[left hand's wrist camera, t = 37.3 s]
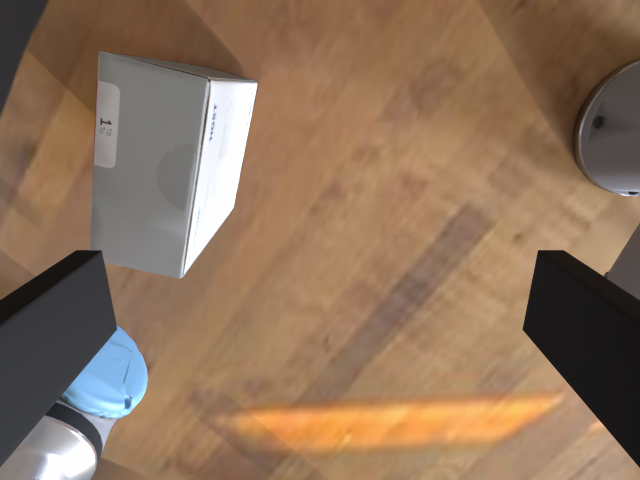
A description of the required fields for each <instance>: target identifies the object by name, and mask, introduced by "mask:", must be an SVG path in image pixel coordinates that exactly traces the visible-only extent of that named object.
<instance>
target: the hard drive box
mask: <svg viewBox="0 0 640 480" xmlns="http://www.w3.org/2000/svg"><path fill="white" fill-rule="evenodd" d="M256 89H257V83H256V82H255V80H253V79H249V78H245V77H242V76H238V75H234V74H230V73H226V72H222V71H218V70H214V69H210V68H206V67H202V66H198V65H192V64H182V63H176V62H170V61H164V60H158V59H151V58H144V57H137V56H130V55H123V54H115V53H107V52H103V51H99V59H98V78H97V94H96V116H95V136H94V157H93V165H94V167H93V185H92V199H91V222H90V240H89V250H102V254H103V259H104V262H106V263H111V264H115V265H119V266H124V267H128V268H133V269H137V270H142V271H147V272H151V273H156V274H161V275H165V276H170V277H175V278H179V279H180V278H182V277H183V276H184V275H185V273H186V272H187V271H188V269H189V268H190V266H191V265H192V264H193V262H194V261H195V260H196V258H197V257H198V256H199V254H200V253H201V252H202V250H203V249H204V248H205V246H206V245H207V243H208V242H209V241H210V239H211V238H212V237H213V235H214V234H215V233H216V231H217V230H218V229H219V227H220V226H221V224H222V223H223V222H224V220H225V219H226V218H227V216H228V215H229V214H230V212H231V211H232V209H233V207H234V202H235V196H236V191H237V186H238V181H239V176H240V170H241V165H242V161H243V156H244V151H245V145H246V140H247V135H248V130H249V125H250V120H251V115H252V110H253V104H254V99H255V94H256Z"/></svg>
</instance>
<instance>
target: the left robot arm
mask: <svg viewBox="0 0 640 480" xmlns="http://www.w3.org/2000/svg"><path fill="white" fill-rule="evenodd" d="M573 148H574V155H575V159H576V162H577V164H578V166H579V168H580V170H581V172H582V173H583V174H584V176H585V177H586V178H587V179H588V180H589V181H590V182H591V183H593V184H594V185H596V186H598V187H599V188H602V189H604V190H607V191H610V192H612V193H616V194H620V195H627V196H640V59H638V60H635V61H632V62H630V63H628V64H626V65H624V66H622V67H620V68H618V69H617V70H615V71H614V72H612V73H611V74H610V75H608V76H607V77H606V78H605V79H604V80H603V81H601V82H600V83H599V84H598V86H597V87H596V88H595V89H594V90H593V91H592V93H591V94H590V95H589V97H588V98H587V100H586V101H585V103H584V105H583V106H582V109H581V111H580V113H579V115H578V118H577V121H576V125H575V129H574V136H573ZM116 331H117V325H116V320H115V315H114V310H113V305H112V300H111V295H110V290H109V285H108V279H107V274H106V269H105V264H104V259H103V254H102V250H76V251H75V252H73V253H72V254H70V255H68V256H67V257H65V258H64V259H62V260H61V261H59V262H58V263H56V264H55V265H53V266H52V267H50V268H49V269H47V270H46V271H44V272H43V273H41V274H40V275H38V276H36V277H35V278H33V279H32V280H30V281H29V282H27V283H26V284H24V285H23V286H21V287H20V288H18V289H17V290H15V291H14V292H12V293H11V294H9V295H7V296H6V297H4V298H3V299H1V300H0V467H1V466H2V465H3V464H4V463H5V461H6V460H7V459H8V458H9V457H10V456H11V454H12V453H13V452H14V451H15V450H16V449H17V447H18V446H19V445H20V444H21V443H22V441H23V440H24V439H25V438H26V437H27V436H28V434H29V433H30V432H31V431H32V430H33V428H34V427H35V426H36V425H37V424H38V423H39V421H40V420H41V419H42V418H43V417H44V415H45V414H46V413H47V412H48V411H49V410H50V408H51V407H52V406H53V405H54V404H55V403H56V401H57V400H58V399H59V398H60V397H61V395H62V394H63V393H64V392H65V391H66V390H67V388H68V387H69V386H70V385H71V384H72V382H73V381H74V380H75V379H76V378H77V377H78V375H79V374H80V373H81V372H82V371H83V370H84V368H85V367H86V366H87V365H88V364H89V362H90V361H91V360H92V359H93V358H94V357H95V355H96V354H97V353H98V352H99V351H100V349H101V348H102V347H103V346H104V345H105V344H106V342H107V341H108V340H109V339H110V338H111V336H112V335H113V334H114V333H115V332H116ZM523 331H524V332H525V333H526V334H527V335H528V336H529V338H530V339H531V340H532V341H533V342H534V344H535V345H536V346H537V347H538V348H539V349H540V351H541V352H542V353H543V354H544V355H545V357H546V358H547V359H548V360H549V361H550V362H551V364H552V365H553V366H554V367H555V368H556V370H557V371H558V372H559V373H560V374H561V375H562V377H563V378H564V379H565V380H566V381H567V382H568V384H569V385H570V386H571V387H572V388H573V390H574V391H575V392H576V393H577V394H578V395H579V397H580V398H581V399H582V400H583V401H584V403H585V404H586V405H587V406H588V407H589V408H590V410H591V411H592V412H593V413H594V414H595V415H596V417H597V418H598V419H599V420H600V421H601V423H602V424H603V425H604V426H605V427H606V428H607V430H608V431H609V432H610V433H611V434H612V436H613V437H614V438H615V439H616V440H617V441H618V443H619V444H620V445H621V446H622V447H623V449H624V450H625V451H626V452H627V453H628V454H629V456H630V457H631V458H632V459H633V460H634V461H635V463H636V464H637V465H638V466H639V467H640V223H639V225H638V227H637V228H636V230H635V231H634V233H633V234H632V236H631V238H630V239H629V241H628V242H627V244H626V246H625V247H624V249H623V250H622V252H621V253H620V255H619V257H618V258H617V260H616V261H615V263H614V265H613V266H612V268H611V269H610V271H609V272H606V273H605V275H604V276H602V275H600V274H599V273H597V272H596V271H594V270H593V269H591V268H590V267H588V266H587V265H585V264H584V263H582V262H581V261H579V260H578V259H576V258H575V257H573V256H572V255H570V254H568V253H567V252H565V251H564V250H538V254H537V259H536V264H535V269H534V274H533V279H532V285H531V290H530V295H529V300H528V305H527V310H526V315H525V320H524V325H523Z"/></svg>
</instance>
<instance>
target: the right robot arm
mask: <svg viewBox="0 0 640 480" xmlns="http://www.w3.org/2000/svg"><path fill="white" fill-rule="evenodd" d="M146 387H147V370H146V365H145V362H144V359H143V357H142V355H141V353H140V352H139V351H138V349H137V346H136V344H135V343H134V341H133V340H132V339H131V338H130V337H129V336H128V334H127V333H126V332H125V331H124V330H122V329H121V328H120V327H119V326H118V325H117V331H116V332H115V333H114V334H113V335H112V336H111V338H110V339H109V340H108V341H107V342H106V344H105V345H104V346H103V347H102V348H101V349H100V351H99V352H98V353H97V354H96V355H95V357H94V358H93V359H92V360H91V361H90V362H89V364H88V365H87V366H86V367H85V368H84V370H83V371H82V372H81V373H80V374H79V375H78V377H77V378H76V379H75V380H74V381H73V382H72V384H71V385H70V386H69V387H68V388H67V390H66V391H65V392H64V393H63V394H62V395H61V397H60V398H59V399H58V400H57V401H56V403H55V404H54V405H53V406H52V407H51V408H50V410H49V411H48V412H47V413H46V414H45V415H44V417H43V418H42V419H41V420H40V421H39V423H38V424H37V425H36V426H35V427H34V428H33V430H32V431H31V432H30V433H29V434H28V436H27V437H26V438H25V439H24V440H23V441H22V443H21V444H20V445H19V446H18V447H17V449H16V450H15V451H14V452H13V453H12V454H11V456H10V457H9V458H8V459H7V460H6V461H5V463H4V464H3V465H2V466H1V467H0V480H90V479H91V477H92V475H93V473H94V472H95V470H96V467H97V464H98V462H99V459H100V456H101V453H102V451H103V448H104V445H105V442H106V440H107V437H108V434H109V432H110V429H111V427H112V426H113V424H114V423H115V421H116V420H117V419H118V418H121V417H124V416H126V415H128V414H129V413H130V412H131V410H132V409H134V407H135V406H136V405H137V404H138V403H139V402H140V400H141V399H142V397H143V396H144V393H145V391H146Z"/></svg>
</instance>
